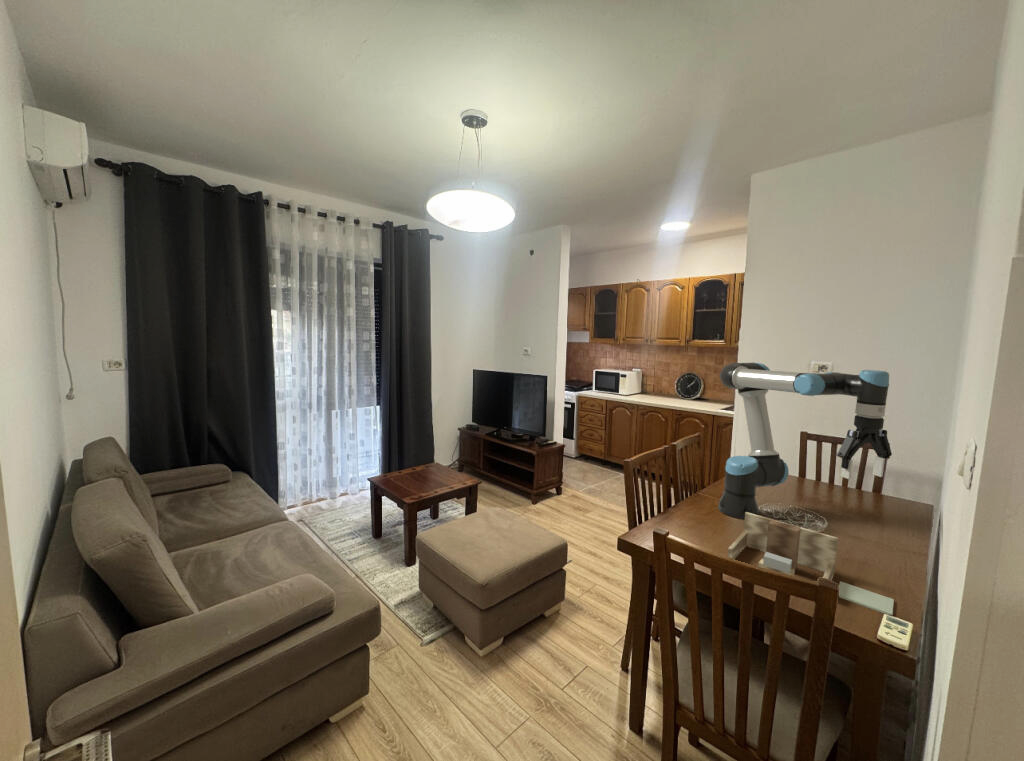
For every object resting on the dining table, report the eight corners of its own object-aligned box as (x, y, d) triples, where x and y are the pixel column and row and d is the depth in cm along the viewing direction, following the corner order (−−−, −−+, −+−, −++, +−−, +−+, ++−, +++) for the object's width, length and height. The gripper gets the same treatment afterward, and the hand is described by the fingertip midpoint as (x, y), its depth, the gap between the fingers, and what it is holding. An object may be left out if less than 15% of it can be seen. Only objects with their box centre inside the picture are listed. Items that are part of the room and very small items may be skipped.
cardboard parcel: (764, 563, 135) (768, 523, 133) (768, 559, 138) (771, 519, 136) (793, 574, 129) (798, 531, 128) (796, 569, 132) (800, 527, 131)
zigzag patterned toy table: (726, 563, 135) (728, 529, 133) (743, 543, 148) (746, 511, 147) (824, 600, 116) (828, 560, 115) (834, 573, 130) (838, 537, 128)
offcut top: (762, 564, 129) (763, 555, 129) (765, 560, 132) (766, 551, 132) (789, 573, 125) (790, 564, 124) (791, 569, 127) (792, 559, 127)
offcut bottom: (757, 571, 131) (758, 562, 131) (761, 567, 134) (761, 558, 133) (790, 583, 125) (791, 574, 124) (793, 579, 127) (794, 570, 127)
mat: (835, 596, 118) (836, 594, 118) (840, 583, 125) (840, 581, 125) (892, 616, 110) (892, 614, 110) (893, 601, 116) (893, 599, 116)
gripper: (850, 419, 132) (842, 482, 135) (911, 417, 137) (902, 478, 140) (828, 414, 140) (821, 474, 142) (886, 413, 145) (878, 471, 147)
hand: (861, 476), depth 141 cm, fingers open, 13 cm apart
